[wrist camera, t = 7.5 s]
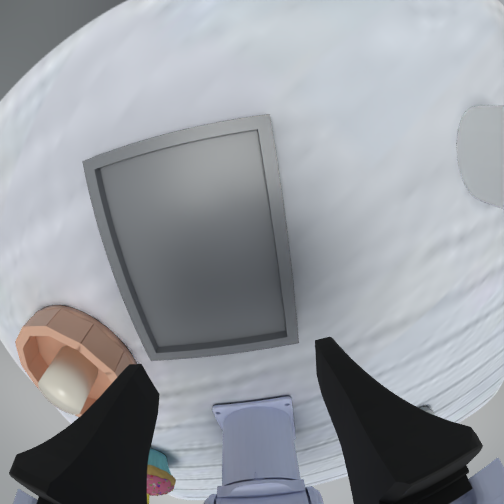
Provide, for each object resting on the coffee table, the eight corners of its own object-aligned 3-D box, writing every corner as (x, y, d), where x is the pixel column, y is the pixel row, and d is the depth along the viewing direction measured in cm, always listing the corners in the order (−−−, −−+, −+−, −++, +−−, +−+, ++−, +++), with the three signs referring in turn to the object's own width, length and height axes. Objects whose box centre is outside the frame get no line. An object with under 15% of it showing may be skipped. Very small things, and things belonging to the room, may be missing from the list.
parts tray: (295, 331, 21) (298, 342, 20) (154, 350, 21) (150, 360, 20) (267, 116, 15) (269, 114, 14) (92, 159, 16) (82, 161, 14)
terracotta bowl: (159, 402, 24) (153, 428, 21) (70, 396, 24) (60, 416, 21) (105, 299, 19) (87, 323, 16) (16, 308, 20) (-2, 326, 16)
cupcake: (187, 465, 30) (182, 530, 19) (141, 463, 31) (130, 522, 20) (160, 440, 27) (148, 517, 16) (111, 438, 28) (92, 504, 17)
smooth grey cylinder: (105, 381, 22) (89, 417, 17) (72, 377, 22) (55, 410, 17) (85, 346, 20) (63, 383, 15) (52, 344, 20) (30, 376, 15)
